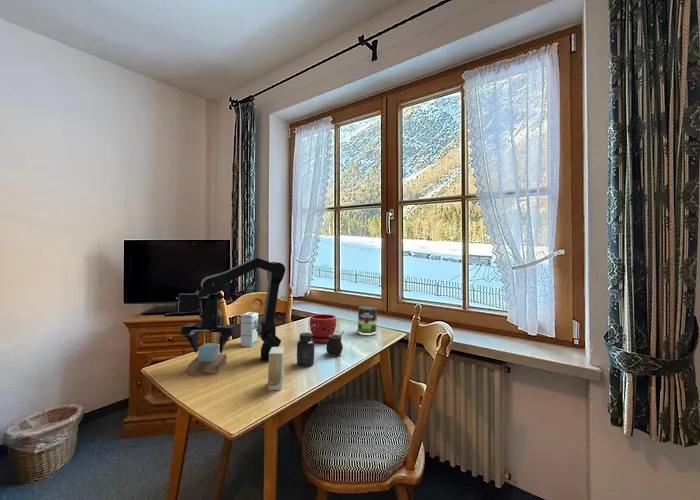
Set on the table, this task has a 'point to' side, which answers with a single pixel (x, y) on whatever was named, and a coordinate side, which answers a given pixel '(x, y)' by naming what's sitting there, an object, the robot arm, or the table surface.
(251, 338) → the syrup box
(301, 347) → the supplement bottle
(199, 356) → the teal cube
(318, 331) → the plant pot
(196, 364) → the walnut block
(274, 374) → the skincare box
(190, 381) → the table surface
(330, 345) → the mate gourd
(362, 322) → the coffee can
